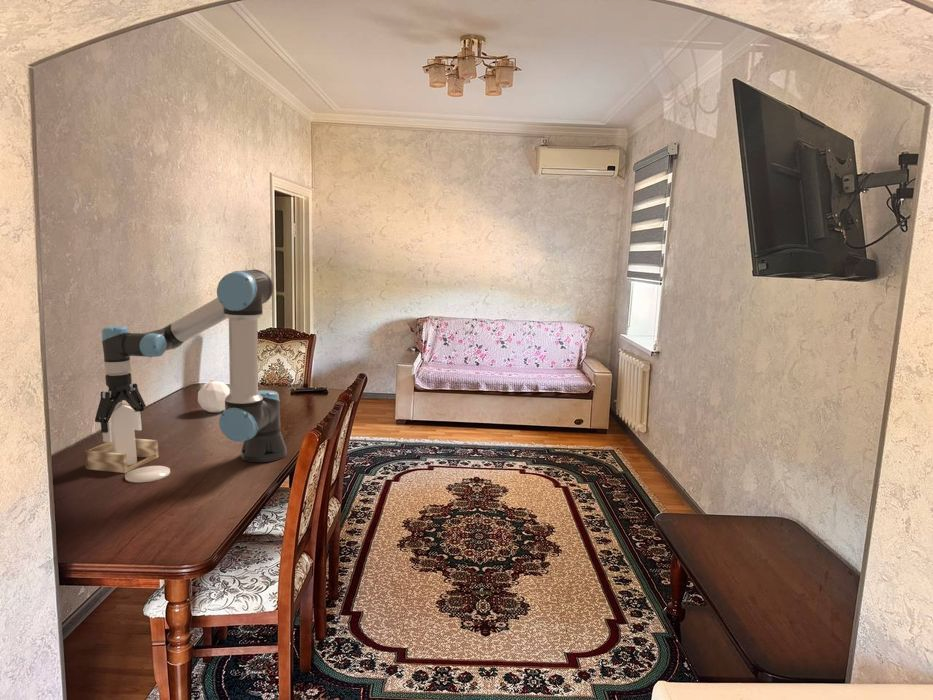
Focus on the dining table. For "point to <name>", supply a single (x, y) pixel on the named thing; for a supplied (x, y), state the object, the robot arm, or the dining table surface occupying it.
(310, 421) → the dining table surface
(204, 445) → the dining table surface
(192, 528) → the dining table surface
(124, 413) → the milk
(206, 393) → the geodesic sphere
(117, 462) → the shelf bay
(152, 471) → the cream flat disc
